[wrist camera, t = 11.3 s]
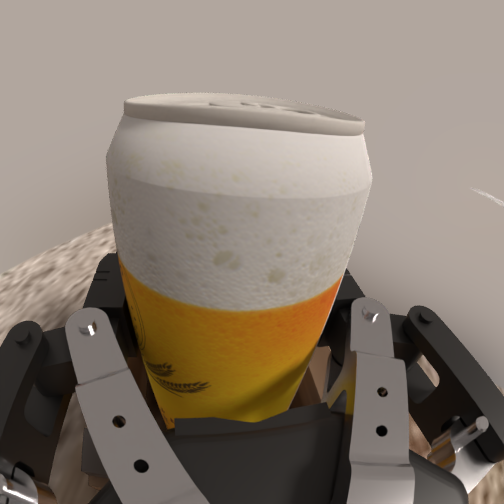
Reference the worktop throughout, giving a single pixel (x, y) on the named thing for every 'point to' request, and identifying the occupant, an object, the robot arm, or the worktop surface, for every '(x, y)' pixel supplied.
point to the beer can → (233, 242)
